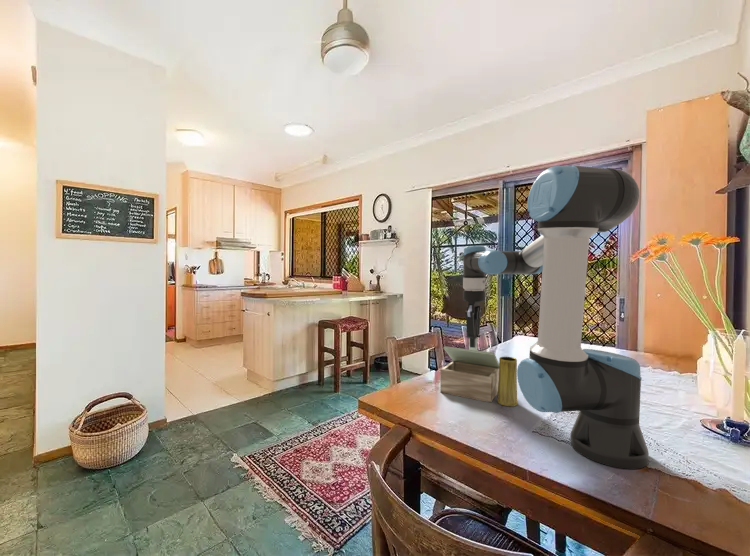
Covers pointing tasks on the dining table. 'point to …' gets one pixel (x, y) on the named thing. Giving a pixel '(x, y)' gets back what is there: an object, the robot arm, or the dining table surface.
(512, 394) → the vase
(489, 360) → the lid
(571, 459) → the dining table surface
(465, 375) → the box
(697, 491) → the dining table surface
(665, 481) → the dining table surface
